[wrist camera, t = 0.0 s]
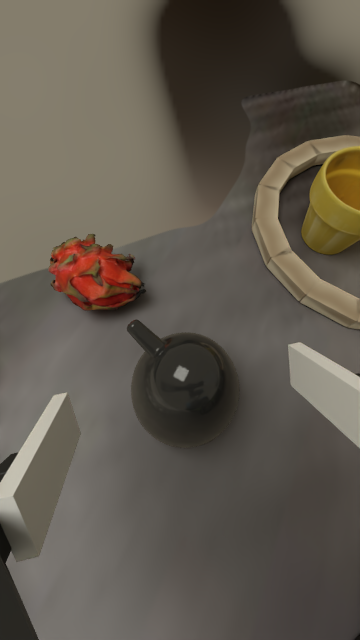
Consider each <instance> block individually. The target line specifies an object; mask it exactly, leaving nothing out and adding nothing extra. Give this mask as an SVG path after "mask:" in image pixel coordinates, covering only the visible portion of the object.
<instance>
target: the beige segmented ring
mask: <svg viewBox="0 0 360 640" xmlns="http://www.w3.org/2000/svg"><path fill="white" fill-rule="evenodd" d="M352 146H360V137H356V136H348V135H344V136H338V137H331V138H324V139H318V140H311V141H307V142H305V143H303V144H302V145H300V146H298V147H296V148H294V149H292V150H291V151H289V152H287V153H285V154H283V155H281V156H279V157H278V158H277V159H276V161H275V162H274V163H273V165H272V166H271V168H270V169H269V170H268V172H267V173H266V175H265V176H264V177H263V179H262V180H261V182H260V183H259V185H258V188H257V191H256V194H255V200H254V209H253V219H252V231H253V234H254V237H255V239H256V242H257V244H258V247H259V250H260V252H261V255H262V257H263V260H264V263H265V265H266V266H267V268H268V269H269V270H270V271H271V272H272V273H273V275H274V276H275V277H276V278H277V279H278V280H279V281H280V282H281V283H282V284H283V285H284V286H285V287H286V288H287V290H288V291H289V292H290V293H291V294H292V295H293V296H294V297H295V298H296V299H297V300H298V301H300V300H301V301H300V303H302V304H304V305H306V306H308V307H310V308H311V309H313V310H315V311H317V312H319V313H321V314H323V315H325V316H326V317H328V318H330V319H332V320H334V321H336V322H338V323H339V324H341V325H343V326H345V327H347V326H348V328H353V329H359V330H360V299H359V298H357V297H355V296H353V295H351V294H349V293H347V292H345V291H343V290H341V289H339V288H337V287H335V286H333V285H331V284H329V283H327V282H325V281H323V280H321V279H320V278H319V277H318V276H317V275H316V274H315V273H314V272H313V271H312V270H311V269H310V268H309V267H308V266H307V265H306V264H305V263H304V262H303V261H302V260H301V259H300V258H299V257H298V256H297V255H296V254H295V253H294V252H293V251H292V250H291V248H290V246H289V244H288V241H287V239H286V237H285V234H284V232H283V230H282V227H281V225H280V223H279V220H278V206H279V194H280V192H281V191H282V189H283V188H284V186H285V185H286V183H287V182H288V180H289V179H290V178H292V177H294V176H296V175H297V174H299V173H301V172H303V171H304V170H306V169H308V168H310V167H311V166H313V165H320V164H324V162H325V161H326V160H327V158H328V157H329V156H331V155H332V154H333V153H335V152H336V151H338V150H341V149H343V148H347V147H352Z"/></svg>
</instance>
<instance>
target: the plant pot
mask: <svg viewBox="0 0 360 640" xmlns="http://www.w3.org/2000/svg"><path fill="white" fill-rule="evenodd" d="M301 234H302V238H303V240H304V242H305V243H306V244H307V245H308V246H309V247H310V248H311V249H312V250H314V251H316V252H318V253H321V254H327V255H332V254H337V253H339V252H341V251H343V250H344V249H346V248H348V247H349V246H351V245H352V244H354V243H356V242H357V241H359V240H360V146H352V147H347V148H343V149H341V150H338V151H336V152H335V153H333V154H332V155H331V156H329V157H328V158H327V160H326V161H325V162H324V164H323V165H322V167H321V169H320V170H319V172H318V174H317V176H316V178H315V180H314V182H313V184H312V186H311V189H310V205H309V208H308V211H307V214H306V217H305V220H304V223H303V226H302V230H301Z"/></svg>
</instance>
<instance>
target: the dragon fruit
mask: <svg viewBox="0 0 360 640" xmlns="http://www.w3.org/2000/svg"><path fill="white" fill-rule="evenodd" d="M94 236H95V235H94V234H89V235H88V236H87V237H86V240H83V241H81V240H80V239H78V238H77V237H74V238H72V239H68V240H67V241H66V242H63V243H62V244H61V245H60V246H56V247H54V250H53V251H52V253H51V254H52V255H51V256H52V258H51V259H50V264H51V265H50V266H49V271H50V272H51V273H52V274H55V275H56V280H53V281H52V282H51V286H52V287H53V288H54V290H56V291H58V292H64V293H65V294H67V296H68V297H69V298H70V299H71V301H72V302H73V303H74V304H75V305H77V306H79V307H81V308H82V309H83V310H97V309H101V310H105V309H114V310H116V309H118V307H120V306H125V305H126V304H127V303H128V302H131V301H134V300H136V299H137V298H138V297H139V296H140V295H141V293H145V292H146V290H145V289H143V290H141V291H139V289H141V286H143V287H144V283H142V282H141V280H140V279H139V278H138V277H137V276H135V275H133V274H131V273H129V272H128V271H131V268H132V265H133V263H134V260H135V257H134V256H133V255H131V254H129V257H125V256H124V255H122V254H117V255H113V254H111V252H112V250H113V246H112V245H111V244H108V245H107V246H105V247H102V246H100V245H98V244H95V237H94ZM53 259H54V260H53ZM133 259H134V260H133ZM125 260H128V261H125Z"/></svg>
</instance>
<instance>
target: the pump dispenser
mask: <svg viewBox="0 0 360 640" xmlns="http://www.w3.org/2000/svg"><path fill="white" fill-rule="evenodd" d="M127 331H128V332H129V333H130V335H131V336H132V337H133V338H134V339H135V340H136V341H137V343H138V344H139V345H140V346H141V347H142V348H143V349H144V350H145V352H144V353H143V355H142V356H141V358H140V359H139V361H138V363H137V365H136V367H135V370H134V373H133V377H132V383H131V397H132V403H133V407H134V411H135V413H136V416H137V418H138V420H139V422H140V423H141V425H142V426H143V427H144V429H145V430H146V431H147V432H148V433H149V434H150V435H151V436H153V437H154V438H155V439H157V440H158V441H160V442H162V443H164V444H167V445H169V446H173V447H179V448H191V447H197V446H200V445H203V444H206V443H208V442H210V441H211V440H213V439H215V438H216V437H217V436H219V435H220V434H221V433H222V432H223V431H224V430H225V429H226V427H227V426H228V425H229V423H230V422H231V420H232V418H233V416H234V414H235V412H236V409H237V406H238V401H239V392H240V389H239V380H238V375H237V372H236V369H235V367H234V364H233V362H232V360H231V359H230V357H229V356H228V354H227V353H226V352H225V350H224V349H223V348H222V347H221V346H220V345H218V344H217V343H216V342H215V341H213V340H211V339H210V338H208V337H206V336H203V335H200V334H196V333H186V332H185V333H176V334H171V335H168V336H166V337H163V338H161V339H160V338H159V337H158V336H156V335H155V334H154V333H153V332H152V331H151V330H149V329H148V328H147V327H146V326H145V325H143V324H142V323H141V322H140V321H139V320H133V321H132V322H131V323H130V324H129V325H128V326H127Z"/></svg>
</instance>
